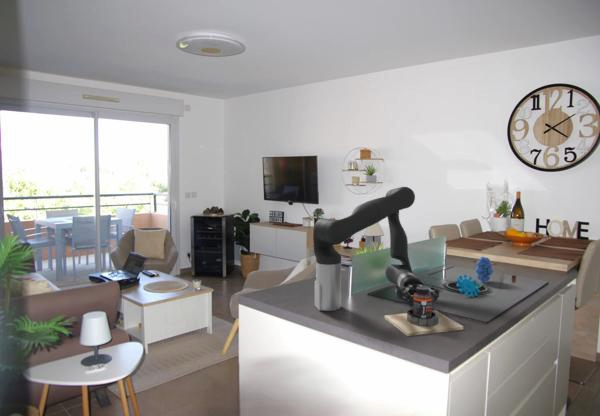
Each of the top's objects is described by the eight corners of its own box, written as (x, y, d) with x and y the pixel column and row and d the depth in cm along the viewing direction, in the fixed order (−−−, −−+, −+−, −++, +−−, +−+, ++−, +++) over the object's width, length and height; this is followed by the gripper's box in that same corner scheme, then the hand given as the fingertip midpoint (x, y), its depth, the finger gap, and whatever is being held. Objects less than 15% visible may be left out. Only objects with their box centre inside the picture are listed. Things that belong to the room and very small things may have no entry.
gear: (461, 294, 169) (454, 272, 175) (454, 301, 173) (448, 280, 180) (486, 296, 171) (479, 275, 177) (478, 303, 175) (471, 282, 182)
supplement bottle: (428, 325, 139) (429, 291, 138) (410, 321, 142) (410, 288, 141) (433, 319, 144) (433, 286, 143) (415, 316, 147) (416, 284, 146)
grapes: (486, 287, 185) (487, 259, 184) (471, 283, 190) (472, 257, 189) (499, 282, 192) (500, 256, 191) (484, 279, 197) (485, 253, 196)
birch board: (407, 336, 133) (407, 333, 133) (384, 318, 148) (384, 315, 148) (463, 329, 138) (463, 326, 138) (435, 312, 153) (435, 310, 153)
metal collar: (416, 327, 137) (417, 320, 136) (401, 317, 146) (401, 310, 146) (444, 324, 139) (444, 317, 139) (427, 314, 149) (427, 307, 149)
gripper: (390, 274, 158) (401, 287, 141) (429, 274, 158) (444, 287, 142) (390, 294, 158) (401, 309, 142) (428, 294, 159) (443, 309, 142)
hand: (422, 298), depth 142 cm, fingers open, 8 cm apart
